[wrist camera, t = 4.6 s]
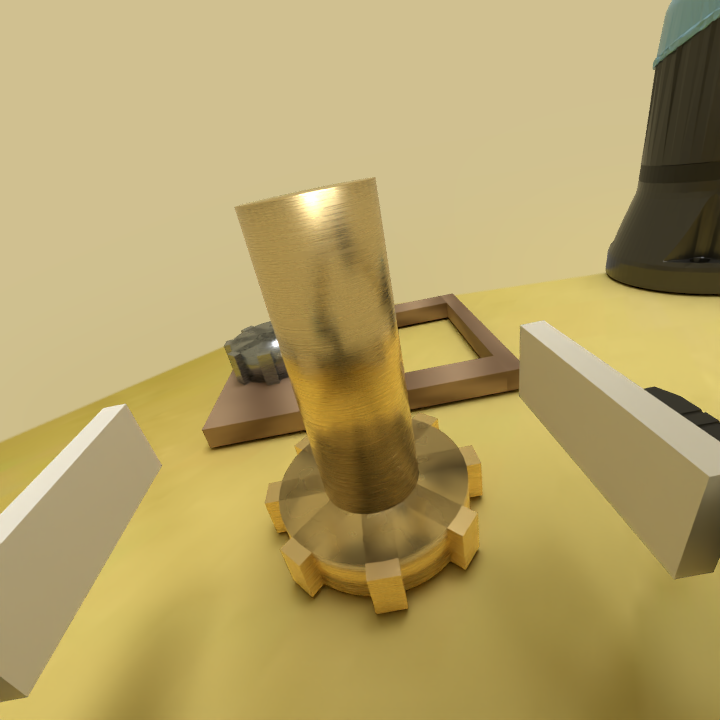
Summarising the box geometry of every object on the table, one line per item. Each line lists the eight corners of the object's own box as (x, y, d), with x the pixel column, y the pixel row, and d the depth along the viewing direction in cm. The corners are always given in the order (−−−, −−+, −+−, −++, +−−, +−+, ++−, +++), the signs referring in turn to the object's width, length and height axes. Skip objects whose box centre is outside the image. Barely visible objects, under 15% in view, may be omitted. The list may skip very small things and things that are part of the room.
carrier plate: (453, 307, 38) (452, 293, 37) (525, 387, 24) (526, 367, 23) (256, 346, 38) (251, 333, 38) (210, 447, 24) (202, 429, 24)
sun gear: (325, 334, 34) (319, 309, 33) (323, 374, 27) (315, 344, 26) (245, 350, 34) (236, 325, 33) (223, 394, 27) (211, 365, 26)
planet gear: (449, 423, 22) (425, 163, 16) (525, 587, 13) (542, 149, 7) (289, 453, 22) (202, 209, 16) (261, 634, 14) (43, 254, 7)
